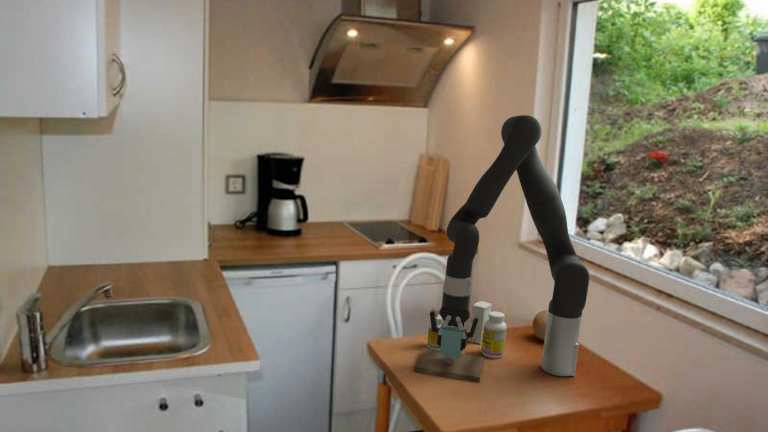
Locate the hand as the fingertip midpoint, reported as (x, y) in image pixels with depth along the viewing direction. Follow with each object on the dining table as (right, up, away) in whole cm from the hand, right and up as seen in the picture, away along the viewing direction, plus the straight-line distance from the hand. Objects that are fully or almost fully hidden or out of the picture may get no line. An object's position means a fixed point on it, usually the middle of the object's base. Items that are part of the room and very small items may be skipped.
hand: (451, 348), depth 182 cm
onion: (+33, -3, +27) cm, 43 cm away
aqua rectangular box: (0, -1, 0) cm, 1 cm away
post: (0, -4, +1) cm, 4 cm away
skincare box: (+11, -2, +23) cm, 25 cm away
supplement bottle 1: (-3, -3, +15) cm, 15 cm away
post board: (0, -6, +1) cm, 6 cm away
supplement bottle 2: (+14, -5, +12) cm, 19 cm away
